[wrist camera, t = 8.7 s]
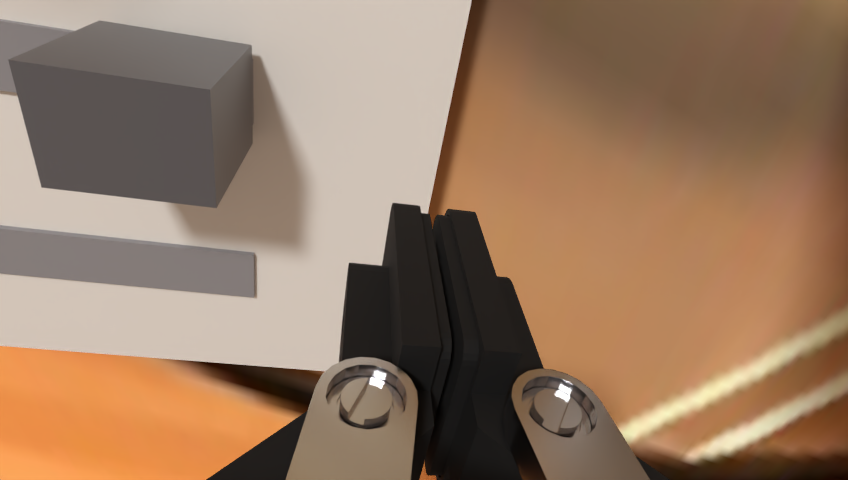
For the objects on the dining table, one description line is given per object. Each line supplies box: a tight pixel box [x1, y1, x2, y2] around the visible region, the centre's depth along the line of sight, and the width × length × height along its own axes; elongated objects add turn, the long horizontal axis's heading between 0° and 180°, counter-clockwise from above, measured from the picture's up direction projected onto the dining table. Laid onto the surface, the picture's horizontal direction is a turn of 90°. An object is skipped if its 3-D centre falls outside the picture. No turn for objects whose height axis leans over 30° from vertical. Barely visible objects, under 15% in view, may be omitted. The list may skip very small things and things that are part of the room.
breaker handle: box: [8, 20, 253, 208], centre depth 13 cm, size 4×3×4 cm
